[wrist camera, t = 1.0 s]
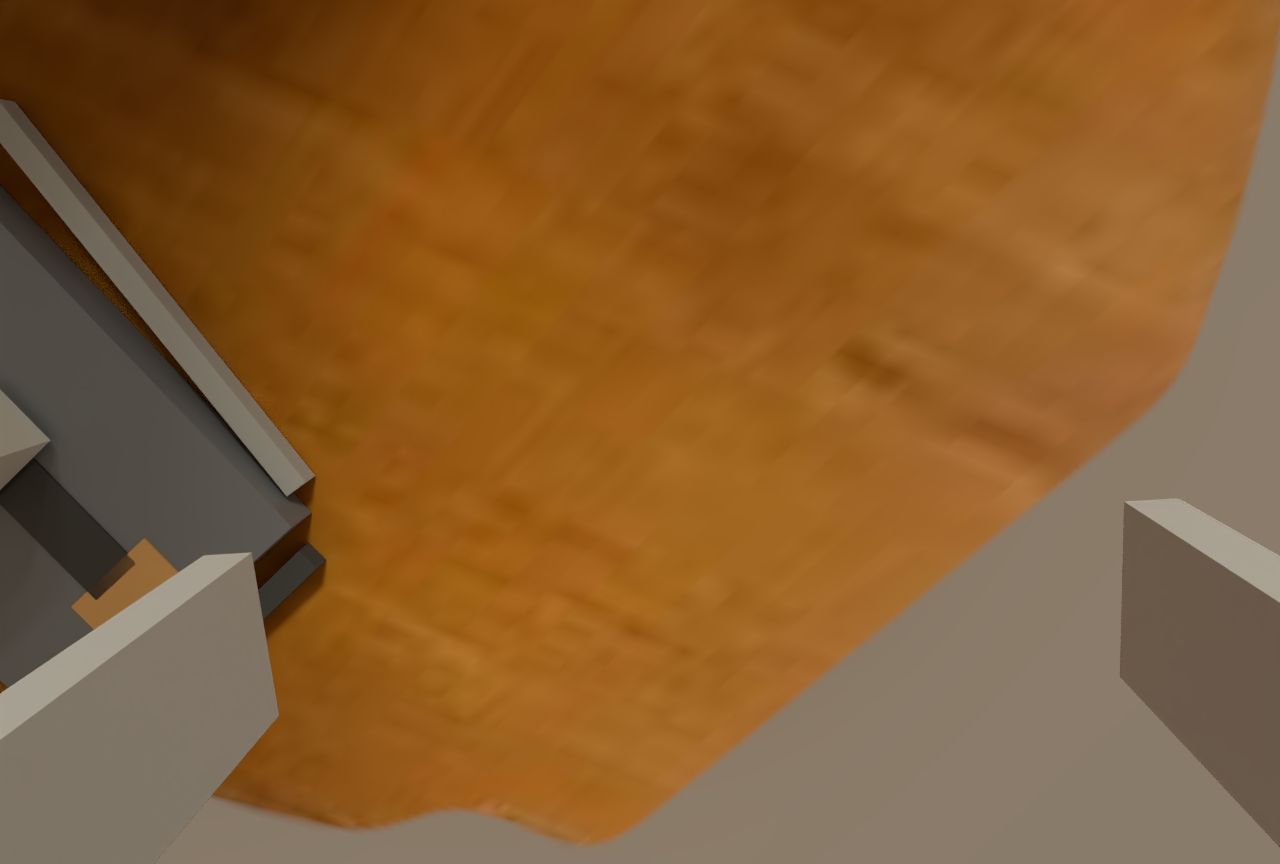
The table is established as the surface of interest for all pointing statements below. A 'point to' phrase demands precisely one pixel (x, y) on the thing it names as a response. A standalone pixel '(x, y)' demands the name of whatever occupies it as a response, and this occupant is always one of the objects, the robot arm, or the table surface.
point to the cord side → (288, 578)
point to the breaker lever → (16, 439)
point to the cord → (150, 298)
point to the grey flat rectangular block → (106, 460)
